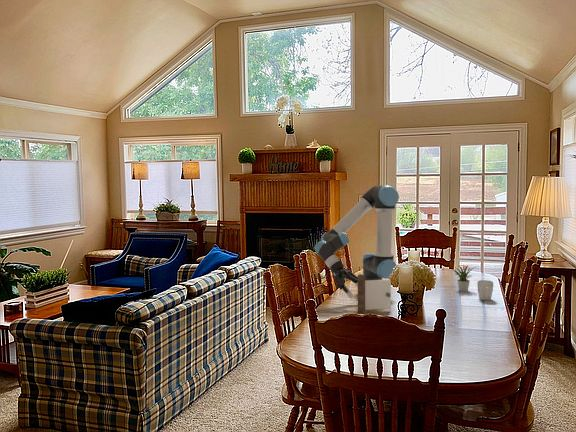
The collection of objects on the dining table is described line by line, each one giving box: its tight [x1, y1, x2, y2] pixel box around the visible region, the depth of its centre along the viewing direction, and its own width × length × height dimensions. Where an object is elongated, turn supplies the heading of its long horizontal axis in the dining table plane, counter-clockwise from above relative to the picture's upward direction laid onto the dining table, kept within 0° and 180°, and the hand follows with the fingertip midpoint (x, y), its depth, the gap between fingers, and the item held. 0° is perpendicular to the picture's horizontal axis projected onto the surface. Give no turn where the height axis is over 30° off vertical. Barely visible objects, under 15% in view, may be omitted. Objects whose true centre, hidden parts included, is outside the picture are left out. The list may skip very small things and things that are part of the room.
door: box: [365, 278, 392, 311], centre depth 266 cm, size 14×3×15 cm, turn 99°
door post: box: [357, 273, 366, 315], centre depth 264 cm, size 2×3×20 cm
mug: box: [476, 279, 494, 301], centre depth 291 cm, size 11×8×10 cm
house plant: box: [453, 264, 476, 292], centre depth 315 cm, size 14×14×16 cm
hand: (358, 294), depth 280 cm, fingers open, 13 cm apart
